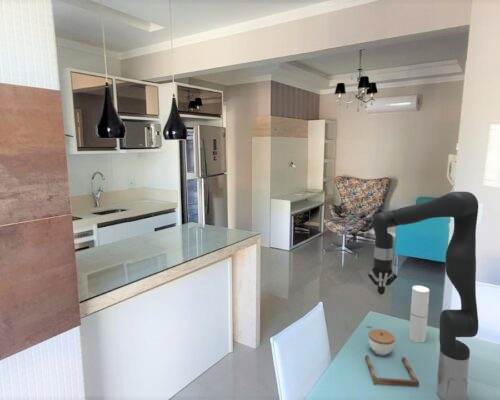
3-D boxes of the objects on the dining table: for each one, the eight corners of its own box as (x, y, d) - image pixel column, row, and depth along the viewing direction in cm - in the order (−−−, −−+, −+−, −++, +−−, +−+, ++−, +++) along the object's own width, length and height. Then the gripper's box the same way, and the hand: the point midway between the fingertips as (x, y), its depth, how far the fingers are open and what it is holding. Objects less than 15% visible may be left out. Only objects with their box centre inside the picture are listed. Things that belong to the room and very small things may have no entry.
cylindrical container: (408, 340, 162) (411, 290, 158) (409, 332, 169) (412, 284, 165) (425, 344, 159) (429, 293, 155) (425, 336, 165) (429, 287, 161)
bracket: (365, 359, 149) (365, 354, 148) (404, 361, 147) (404, 356, 147) (374, 384, 133) (374, 379, 133) (418, 386, 132) (419, 382, 131)
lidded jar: (363, 350, 155) (364, 331, 153) (376, 341, 162) (377, 323, 160) (385, 361, 147) (386, 341, 145) (398, 352, 153) (399, 332, 152)
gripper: (369, 259, 148) (367, 296, 151) (401, 259, 146) (398, 297, 149) (365, 253, 155) (363, 289, 158) (396, 254, 154) (393, 290, 157)
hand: (380, 293), depth 154 cm, fingers closed
